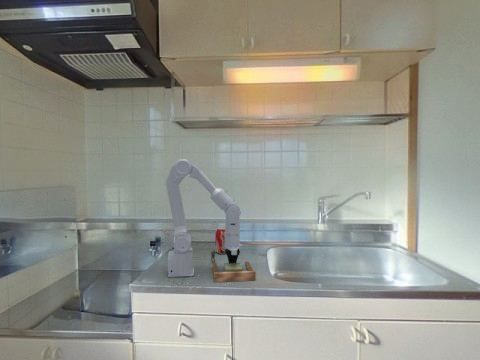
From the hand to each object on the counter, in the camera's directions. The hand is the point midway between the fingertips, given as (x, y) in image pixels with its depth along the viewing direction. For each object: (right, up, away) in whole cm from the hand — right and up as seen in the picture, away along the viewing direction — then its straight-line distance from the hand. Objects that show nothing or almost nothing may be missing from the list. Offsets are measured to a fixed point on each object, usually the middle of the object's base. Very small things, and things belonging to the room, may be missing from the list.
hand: (232, 268), depth 123 cm
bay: (0, -1, -1) cm, 2 cm away
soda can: (-5, 0, +27) cm, 27 cm away
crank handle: (-9, -1, +14) cm, 17 cm away
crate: (0, -2, -5) cm, 5 cm away
